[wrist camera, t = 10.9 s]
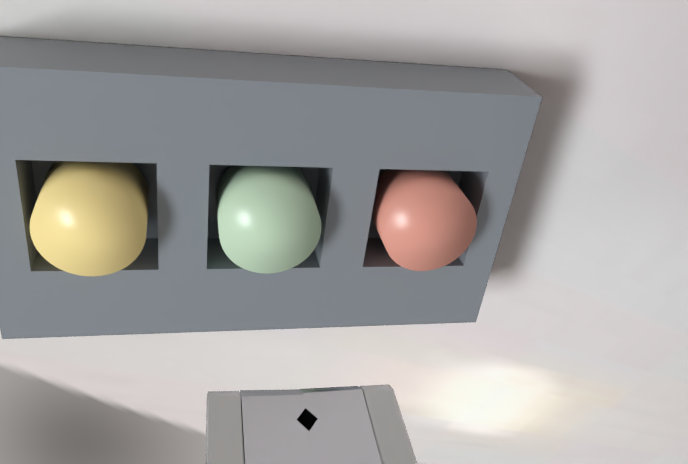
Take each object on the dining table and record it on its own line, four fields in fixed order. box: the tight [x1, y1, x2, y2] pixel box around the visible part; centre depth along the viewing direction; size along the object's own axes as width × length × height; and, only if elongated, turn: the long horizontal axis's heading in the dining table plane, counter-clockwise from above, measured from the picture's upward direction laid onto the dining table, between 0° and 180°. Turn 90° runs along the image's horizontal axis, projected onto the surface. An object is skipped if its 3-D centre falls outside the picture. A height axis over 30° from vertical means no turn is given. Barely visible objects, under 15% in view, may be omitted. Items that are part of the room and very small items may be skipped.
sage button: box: [216, 165, 321, 274], centre depth 28 cm, size 4×4×3 cm
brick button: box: [371, 169, 477, 271], centre depth 30 cm, size 4×4×3 cm
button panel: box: [0, 36, 542, 339], centre depth 29 cm, size 22×12×4 cm, turn 83°
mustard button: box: [30, 161, 149, 276], centre depth 26 cm, size 4×4×3 cm
